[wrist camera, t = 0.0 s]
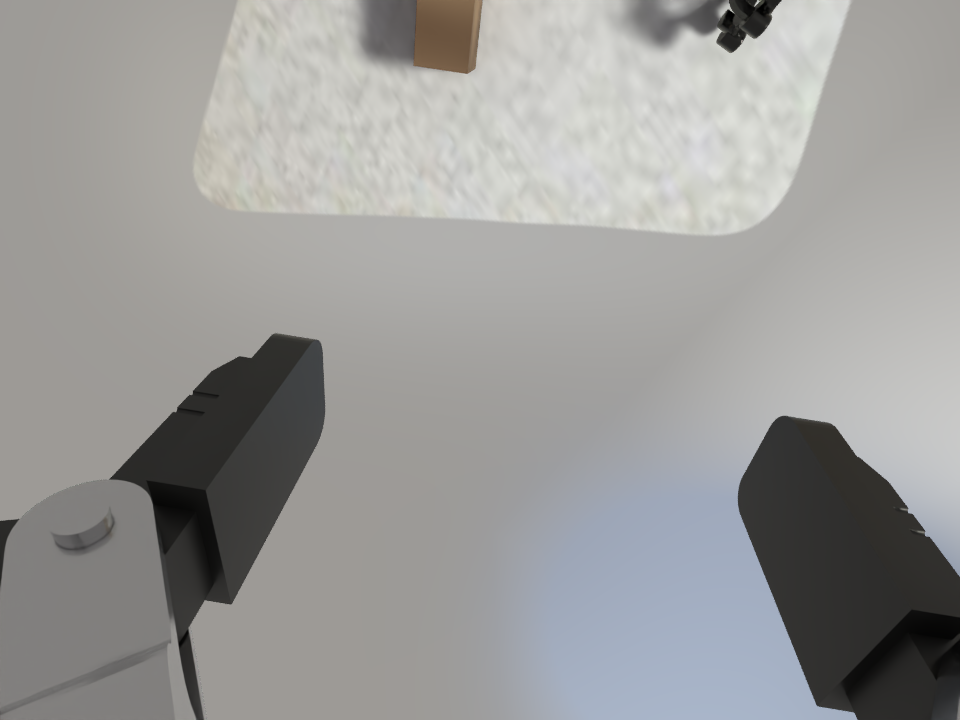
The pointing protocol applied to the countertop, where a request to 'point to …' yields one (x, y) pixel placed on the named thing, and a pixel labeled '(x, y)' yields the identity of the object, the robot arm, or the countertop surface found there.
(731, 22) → the valve
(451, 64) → the bar
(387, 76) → the countertop surface
